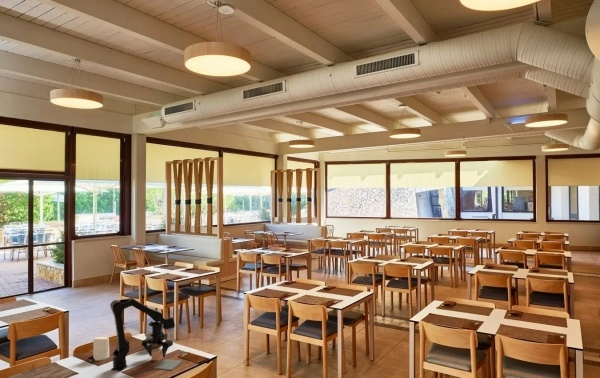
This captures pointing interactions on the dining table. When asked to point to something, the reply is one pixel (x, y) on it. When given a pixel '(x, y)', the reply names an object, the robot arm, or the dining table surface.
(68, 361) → the dining table surface
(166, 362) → the place mat
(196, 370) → the dining table surface
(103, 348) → the white upright block
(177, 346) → the dining table surface
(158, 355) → the terracotta cube
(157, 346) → the food container
